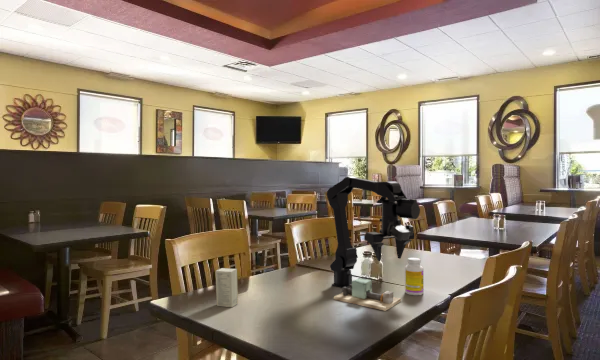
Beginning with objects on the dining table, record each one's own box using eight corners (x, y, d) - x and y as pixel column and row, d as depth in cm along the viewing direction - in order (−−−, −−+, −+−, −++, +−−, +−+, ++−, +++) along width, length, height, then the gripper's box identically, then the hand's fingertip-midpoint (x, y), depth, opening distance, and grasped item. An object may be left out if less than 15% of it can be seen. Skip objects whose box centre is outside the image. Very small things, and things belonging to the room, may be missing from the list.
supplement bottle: (424, 296, 142) (424, 261, 142) (405, 295, 144) (405, 260, 143) (422, 291, 149) (422, 257, 149) (404, 290, 150) (404, 256, 150)
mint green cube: (351, 296, 139) (351, 281, 139) (359, 292, 143) (359, 278, 143) (364, 298, 136) (364, 283, 136) (371, 295, 140) (371, 280, 140)
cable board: (333, 299, 140) (333, 287, 140) (351, 291, 149) (351, 280, 149) (385, 310, 127) (385, 298, 127) (400, 301, 137) (400, 289, 137)
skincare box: (238, 303, 136) (237, 268, 135) (231, 307, 131) (231, 271, 131) (222, 301, 138) (221, 267, 138) (215, 306, 133) (215, 270, 133)
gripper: (384, 220, 129) (383, 267, 130) (426, 217, 138) (425, 261, 138) (363, 216, 139) (363, 260, 140) (403, 214, 148) (403, 255, 148)
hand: (389, 259), depth 141 cm, fingers open, 9 cm apart
